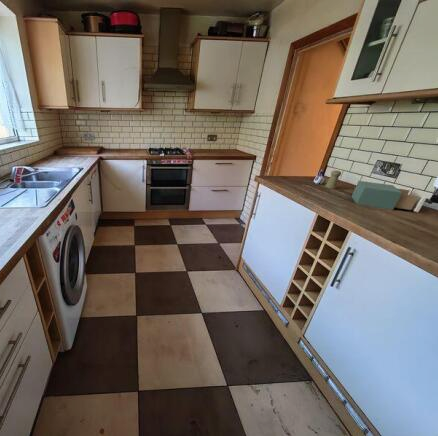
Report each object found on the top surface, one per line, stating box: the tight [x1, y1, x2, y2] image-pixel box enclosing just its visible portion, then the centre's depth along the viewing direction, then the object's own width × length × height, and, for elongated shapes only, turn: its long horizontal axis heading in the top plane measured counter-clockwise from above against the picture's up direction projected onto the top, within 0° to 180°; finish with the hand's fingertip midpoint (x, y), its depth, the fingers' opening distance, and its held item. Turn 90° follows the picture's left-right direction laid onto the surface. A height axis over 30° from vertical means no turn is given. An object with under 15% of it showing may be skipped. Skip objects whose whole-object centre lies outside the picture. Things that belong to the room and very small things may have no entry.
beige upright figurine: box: [324, 169, 342, 190], centre depth 148 cm, size 6×6×11 cm
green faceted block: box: [351, 180, 402, 211], centre depth 123 cm, size 15×15×10 cm
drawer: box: [394, 187, 434, 213], centre depth 118 cm, size 18×13×8 cm
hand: (433, 202), depth 113 cm, fingers closed
